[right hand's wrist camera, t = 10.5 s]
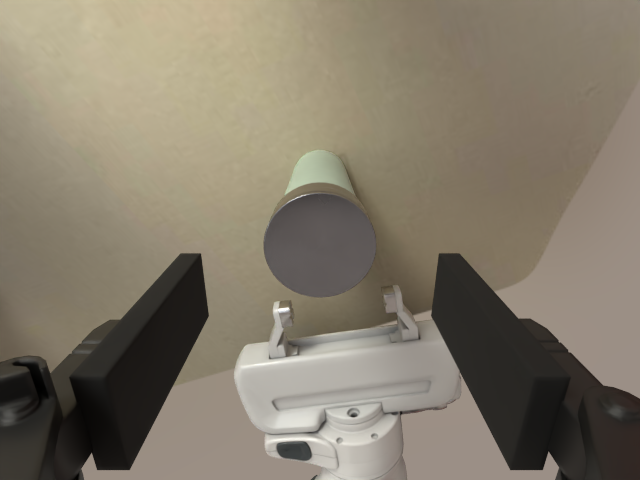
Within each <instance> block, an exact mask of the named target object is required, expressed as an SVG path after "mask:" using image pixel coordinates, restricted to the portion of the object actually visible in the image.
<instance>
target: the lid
mask: <svg viewBox="0 0 640 480" xmlns="http://www.w3.org/2000/svg"><path fill="white" fill-rule="evenodd" d="M264 253H265V258H266V261H267V264H268V266H269V268H270V270H271V271H272V273H273V275H274V276H275V277H276V278H277V279H278V280H279V281H280V282H281V283H282V284H283V285H284V286H286V287H287V288H289V289H291V290H292V291H294V292H297V293H299V294H302V295H306V296H311V297H330V296H334V295H338V294H341V293H343V292H346V291H348V290H349V289H351V288H353V287H354V286H355V285H357V284H358V283H359V282H360V281H361V280H362V279H363V278H364V277H365V276H366V274H367V273H368V271H369V270H370V268H371V266H372V264H373V261H374V258H375V254H376V237H375V232H374V229H373V226H372V224H371V221H370V219H369V216H368V214H367V212H366V210H365V208H364V206H363V205H362V203H361V202H360V200H359V199H358V198H357V197H356V196H355V195H354V194H352V193H351V192H350V191H348V190H346V189H345V188H343V187H341V186H338V185H335V184H331V183H325V182H316V183H309V184H305V185H302V186H299V187H297V188H295V189H293V190H292V191H290V192H289V193H288V194H286V195H285V196H284V197H283V198H282V199H281V200H280V202H279V203H278V204H277V206H276V208H275V209H274V212H273V214H272V217H271V219H270V221H269V224H268V226H267V229H266V232H265V236H264Z"/></svg>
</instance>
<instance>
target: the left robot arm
mask: <svg viewBox="0 0 640 480" xmlns="http://www.w3.org/2000/svg"><path fill="white" fill-rule="evenodd" d="M381 291H382V295H383V296H382V300H383V305H384V307H385V311H386V313H395V312H396V314H397V315H398V317H397V322H398V324H397V325H389V326H381V327H374V328H367V329H359V330H351V331H344V332H337V333H329V334H322V335H314V336H307V337H299V338H292V339H287V336H286V333H285V332H283V329H284V327H290V326H293V319H294V311H293V308H292V302H291V300H286V301H278V302H274V306H273V315H274V320H275V324H274V327H273V329H272V332H271V335H270V340H269V342H262V343H254V344H248V345H246V346H245V347H244V348H243V350H242V351H241V353H240V355H239V357H238V359H237V362H236V366H235V371H234V380H235V383H236V387H237V390H238V393H239V396H240V398H241V401H242V403H243V406H244V408H245V410H246V412H247V414H248V416H249V418H250V420H251V421H252V423H253V424H254V425H255V426H256V427H257V428H258V429H259V430H261V431H263V432H265V450H266V452H267V454H268V455H269V456H271V457H274V458H280V459H289V460H296V461H302V462H307V463H311V464H315V465H318V466H321V467H322V468H321V473H320V475H319V476H317V475H316V476H314V477H313V478H312V479H311V480H407V473H406V466H405V462H404V459H403V457H402V453H403V434H402V424H401V416H400V415H401V414H408V413H416V412H421V411H425V410H431V409H433V410H440V409H444V408H446V407H447V404H449V403H452V402H453V401H455V400H456V399H458V398H459V397H460V395H461V378H460V375H459V374H460V371H459V369H458V367H457V365H456V363H455V361H454V359H453V357H452V355H451V353H450V351H449V350H448V348H447V346H446V344H445V342H444V340H443V338H442V336H441V334H440V332H439V330H438V328H437V326H436V324H435V322H434V320H426V321H419V322H415V320H414V317H413V315H412V314H411V312H410V311H409V310H408V309H407V308H406V306H405V305H404V304H403V302H402V294H401V290H400V288H399V286H398V285H394V286H387V287H381Z"/></svg>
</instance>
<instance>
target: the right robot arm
mask: <svg viewBox="0 0 640 480" xmlns="http://www.w3.org/2000/svg"><path fill="white" fill-rule="evenodd" d="M208 316H209V314H208V306H207V298H206V290H205V282H204V274H203V266H202V258H201V254H180V255H179V256H178V257H177V258H176V259H175V260H174V261H173V263H172V264H171V265H170V266H169V267H168V268H167V269H166V270H165V271H164V273H163V274H162V275H161V276H160V277H159V278H158V279H157V280H156V281H155V282H154V284H153V285H152V286H151V287H150V288H149V289H148V290H147V291H146V292H145V293H144V295H143V296H142V297H141V298H140V299H139V300H138V301H137V302H136V303H135V305H134V306H133V307H132V308H131V309H130V310H129V311H128V312H127V313H126V314H125V316H124V317H123V318H122V319H121V320H109V321H107V322H106V323H104V324H102V325H101V326H99V327H97V328H96V329H94V330H93V331H92V332H91V333H90V334H89V335H88V336H87V337H86V338H85V339H84V340H83V341H82V344H79V345H78V346H77V347H76V348H75V349H74V350H73V351H72V354H69V355H68V356H67V357H66V358H65V359H64V360H63V361H62V362H61V363H60V364H59V365H58V366H57V367H56V368H55V369H54V370H53V371H52V372H51V373H50V372H49V369H48V366H47V363H46V360H44V359H42V358H41V357H38V356H23V357H17V358H13V359H10V360H6V361H3V362H0V480H84V477H83V473H82V470H81V468H82V467H83V465H84V463H85V462H86V460H87V459H88V457H89V456H90V454H91V453H92V454H93V458H94V461H95V464H96V467H97V470H130V468H131V466H132V464H133V462H134V460H135V458H136V456H137V455H138V453H139V451H140V449H141V447H142V445H143V443H144V441H145V439H146V437H147V435H148V433H149V431H150V429H151V427H152V425H153V423H154V421H155V419H156V418H157V416H158V414H159V412H160V410H161V408H162V406H163V404H164V402H165V400H166V398H167V396H168V394H169V392H170V390H171V388H172V386H173V385H174V383H175V381H176V379H177V377H178V375H179V373H180V371H181V369H182V367H183V365H184V363H185V361H186V359H187V357H188V355H189V353H190V351H191V350H192V348H193V346H194V344H195V342H196V340H197V338H198V336H199V334H200V332H201V330H202V328H203V326H204V324H205V322H206V320H207V318H208ZM431 316H432V318H433V320H434V322H435V324H436V326H437V328H438V330H439V332H440V334H441V336H442V338H443V340H444V342H445V344H446V346H447V348H448V350H449V351H450V353H451V355H452V357H453V359H454V361H455V363H456V365H457V367H458V369H459V371H460V373H461V375H462V377H463V379H464V381H465V383H466V385H467V386H468V388H469V390H470V392H471V394H472V396H473V398H474V400H475V402H476V404H477V406H478V408H479V410H480V412H481V414H482V416H483V418H484V419H485V421H486V423H487V425H488V427H489V429H490V431H491V433H492V435H493V437H494V439H495V441H496V443H497V445H498V447H499V449H500V451H501V453H502V455H503V456H504V458H505V460H506V462H507V464H508V466H509V468H510V470H543V467H544V464H545V461H546V458H547V454H548V451H549V452H550V454H551V455H552V457H553V458H554V460H555V462H556V463H557V465H558V466H559V470H558V473H557V476H556V479H555V480H640V399H639V398H637V397H636V396H634V395H632V394H630V393H628V392H625V391H623V390H620V389H617V388H614V387H608V386H603V385H602V384H601V383H600V382H599V381H598V380H597V379H596V378H595V377H594V376H593V375H592V374H591V373H590V372H589V371H588V370H587V369H586V368H585V367H584V366H583V365H582V364H581V363H580V362H579V361H578V360H577V359H576V358H575V357H574V355H573V354H572V353H569V352H568V349H566V347H565V346H564V345H563V344H562V343H559V342H558V339H557V338H556V337H555V336H554V335H553V334H552V333H551V332H550V331H549V330H548V329H547V328H545V327H543V326H542V325H540V324H538V323H537V322H535V321H533V320H532V319H518V318H517V317H516V316H515V314H514V313H513V312H512V311H511V310H510V309H509V308H508V307H507V306H506V305H505V303H504V302H503V301H502V300H501V299H500V298H499V297H498V296H497V295H496V293H495V292H494V291H493V290H492V289H491V288H490V287H489V286H488V285H487V284H486V282H485V281H484V280H483V279H482V278H481V277H480V276H479V275H478V274H477V273H476V271H475V270H474V269H473V268H472V267H471V266H470V265H469V264H468V263H467V261H466V260H465V259H464V258H463V257H462V256H461V255H460V254H439V258H438V266H437V274H436V282H435V290H434V298H433V306H432V314H431Z"/></svg>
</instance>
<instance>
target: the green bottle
mask: <svg viewBox="0 0 640 480" xmlns="http://www.w3.org/2000/svg"><path fill="white" fill-rule="evenodd" d="M316 182H325V183H331V184H335V185H338V186H341V187H343V188H345V189H346V190H348V191H350V192H351V193H352V194H354V195H355V193H354V190H353V187H352V185H351V182H350V179H349V177H348V174H347V171H346V169H345V166H344V164H343V162H342V161H341V159H340V158H339V157H338V156H336V155H335V154H334V153H332V152H329V151H326V150H314V151H311V152H308V153H306V154H305V155H303V156H302V157H301V158H300V159H299V161H298V162H297V164H296V166H295V168H294V171H293V174H292V176H291V179H290V182H289V185H288V187H287V190H286V193H285V195H286V194H288V193H289V192H290V191H292V190H293V189H295V188H297V187H299V186H302V185H305V184H309V183H316ZM285 195H284V196H285Z"/></svg>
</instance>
